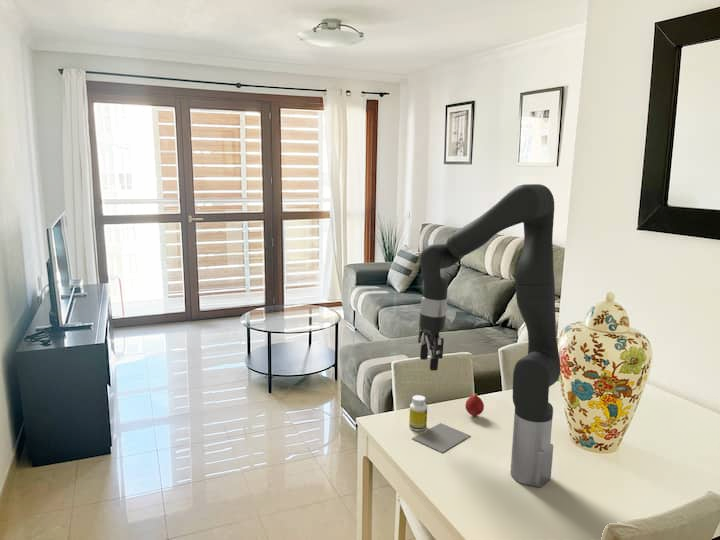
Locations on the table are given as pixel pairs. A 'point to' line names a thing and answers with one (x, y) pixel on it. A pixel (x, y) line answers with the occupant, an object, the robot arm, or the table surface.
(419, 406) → the supplement bottle
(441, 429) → the mat
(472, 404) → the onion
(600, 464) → the table surface
